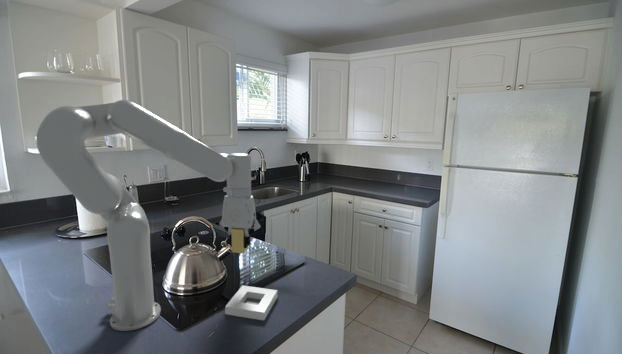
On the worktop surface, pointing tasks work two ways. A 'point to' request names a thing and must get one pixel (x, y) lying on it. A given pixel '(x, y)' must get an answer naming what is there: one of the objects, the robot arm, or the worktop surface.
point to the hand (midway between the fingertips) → (240, 245)
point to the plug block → (238, 240)
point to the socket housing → (251, 302)
